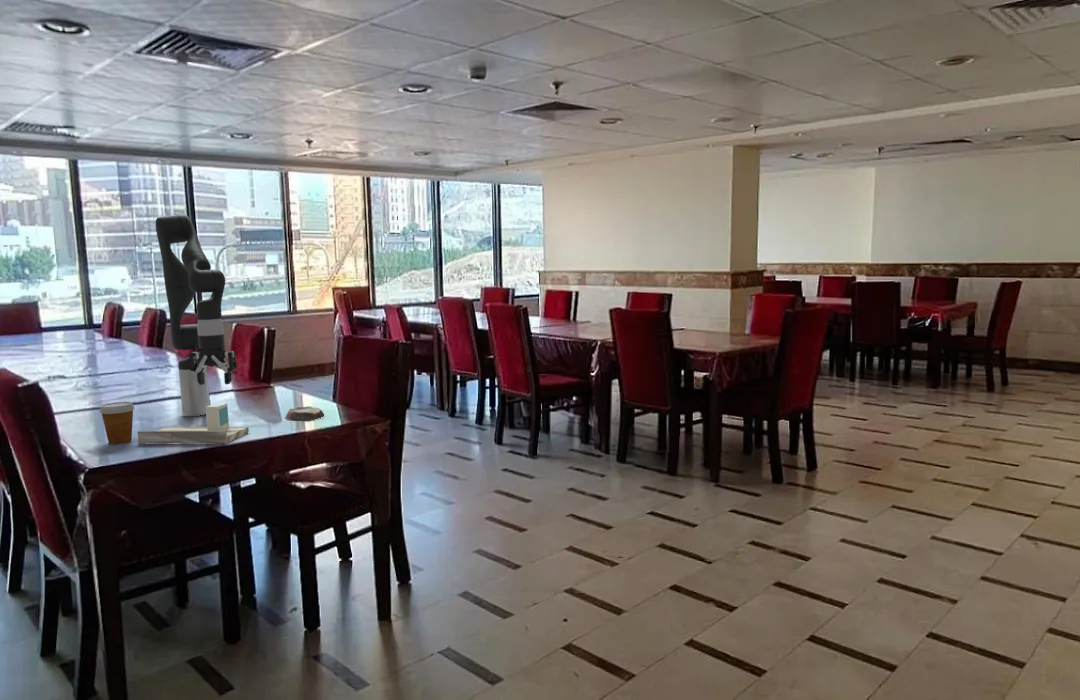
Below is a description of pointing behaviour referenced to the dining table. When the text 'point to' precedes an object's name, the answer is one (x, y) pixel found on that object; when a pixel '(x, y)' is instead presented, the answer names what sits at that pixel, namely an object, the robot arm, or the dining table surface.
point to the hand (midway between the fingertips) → (214, 384)
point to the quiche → (304, 414)
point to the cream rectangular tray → (190, 435)
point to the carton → (217, 417)
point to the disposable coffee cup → (118, 421)
